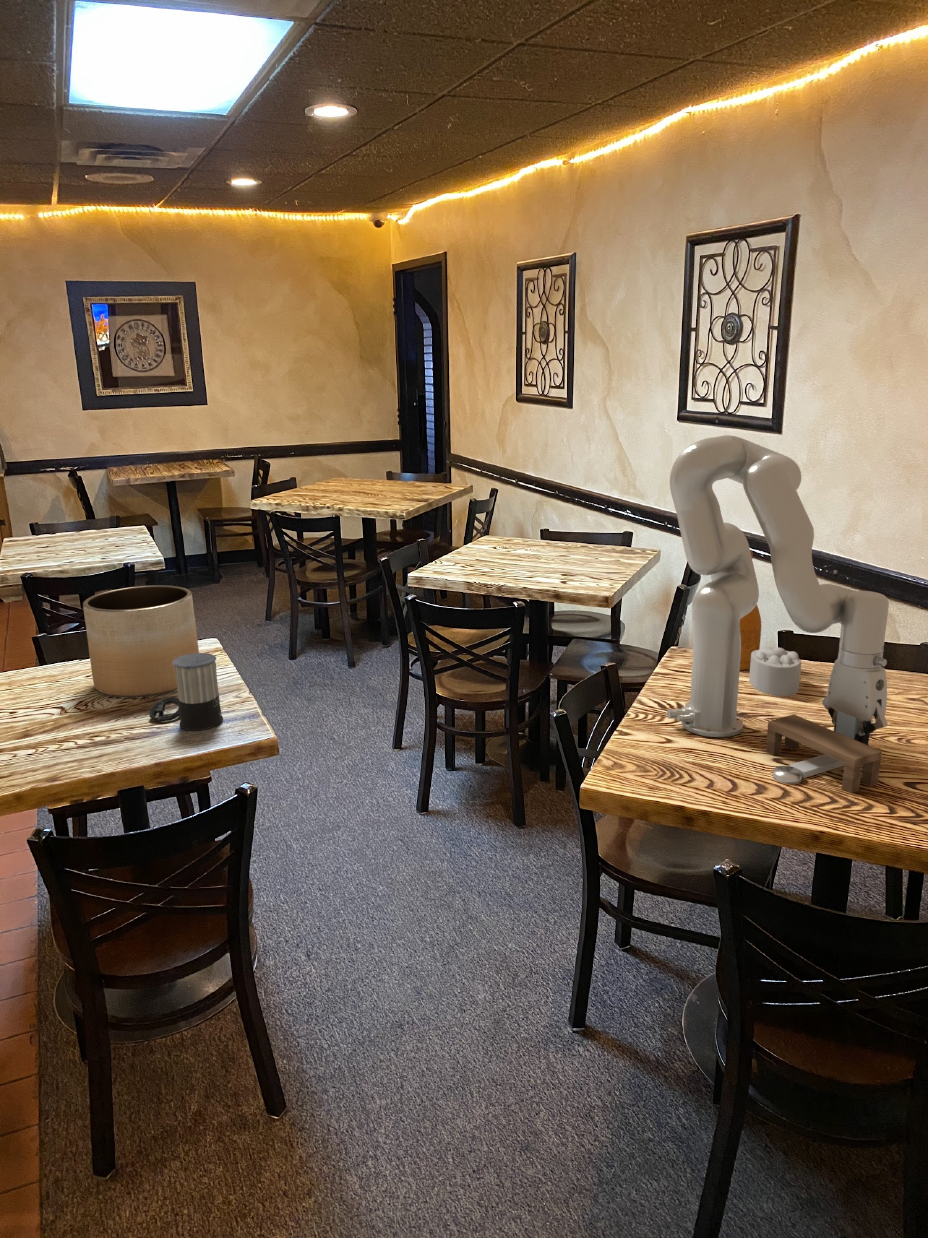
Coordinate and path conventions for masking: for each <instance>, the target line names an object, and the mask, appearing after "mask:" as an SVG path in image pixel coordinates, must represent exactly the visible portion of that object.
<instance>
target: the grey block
mask: <svg viewBox="0 0 928 1238" xmlns="http://www.w3.org/2000/svg"><path fill="white" fill-rule="evenodd" d="M865 727H866V722H865ZM835 732H837V733H840V734H842V735H844V736H847V737H849V738H852V739H854V740H855V734H858V723H857V718H855V717H853V716H850V715H848V714H845V713H843V712H840V711H838V713H837V722H836V731H835ZM844 764H845V763H843V762H841V761H839V760H836V759H834V758H832V757H830V756H828V755H825V754H822V755H817V756H814V757H811V758H808V759H804V760H801V761H797V762H795V763H791V764H789V765H788V766H790V767H794V768H797V769H799V770H800V771H801V772H802V779H805V778H809V777H812V776H815V775H818V774H822V773H824V772H827V771H831V770H834V769H837V768H841V767H844Z"/></svg>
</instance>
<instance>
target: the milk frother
mask: <svg viewBox="0 0 928 1238" xmlns="http://www.w3.org/2000/svg"><path fill="white" fill-rule="evenodd" d="M216 660H217V656H216V655H214V654H213V653H208V652H199V653H194V654H188V655H184V656H180V657H178V658H176V659H174V661H173V665H174V667H175V675H176V683H177V690H176V691H177V696H178V697H176V696H168V697H165V698H164V697H163V699H160V700H159V701H157V702H155V703H154V704H152V706H151V707H150V709H149V711H148V715H149V718H150V719H151V720H153V721H156V722H169V721H170V722H171V721H172V720H175V719H177V718H178V717H180V719H179V720H180V722H179V726H180V728H182V729H184V730H188V731H203V730H204V731H205V730H208V728H209V729H211V728H215V727H217V726H219V725H220V724H221V723H222V722H223V721H224V717H223V716H222V709H221V702H220V694H219V682H218V674H217V663H216ZM169 704H174V705H177V706H178V709H177V710H176V711H175V712H173V713H171V714H169V715H165V714H164V713H165V711H166V706H167V705H169ZM222 720H223V721H222ZM219 723H220V724H219ZM218 724H219V725H218ZM216 725H217V726H216Z"/></svg>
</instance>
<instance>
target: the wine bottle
mask: <svg viewBox="0 0 928 1238" xmlns="http://www.w3.org/2000/svg"><path fill="white" fill-rule="evenodd" d="M750 552H751V557H752V559H754V558H753V557H754V553H753V551H752V550H751V549H750ZM761 618H762V617H761V614H760V609H759V605H758V604H757V605H756V606H755V608H754V609H753V610H752V611H751V612H750V613H748V614H747V615H746V616H744V617H742V618H741V619H740V623H739V626H740V635H741V656H740V658H741V659H740V671H748V670H749V671H750V663H751V653H752V652H753V651H755V650H759V649H761V647H760V646H761V636H762V619H761Z"/></svg>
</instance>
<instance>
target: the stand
mask: <svg viewBox="0 0 928 1238" xmlns="http://www.w3.org/2000/svg"><path fill="white" fill-rule="evenodd" d="M783 736H784V745H783V744H782V743H783ZM800 744H801V745H804V746H806V747H808V748H810V749H813V750H814V751H817V752H819V753H821V754H822V755H824V754H825V755H828V756H830V757H832V758H834V759H836V760H839V761H841V762H843V763H845V764H844V766H843V774H842V783H841V790H844V791H845V792H847V793H849V794H853V793H856V792H859V791H860V784H861V783H862V784H863V785H865V786H868V787H871V788H872V787H874V786H877V785H879V778H880V770H881V762H882V756H883V751H882V750H880V749H878V748H874V747H873V746H871V745H869V744H868V745H866V744H863V743H861V742H859V741H856V740H854V739H852V738H849V737H847V736H844V735H842V734H840V733H837V732H835V731H834V729H833V730H832V729H830V728H827V727H825V726H823V725H820V724H818V723H816V722H813V721H811V720H809V719H806V718H803V717H802V716H800V715H796V714H794V713H793V714H791V715H787V716H783V717H779V718H775V719H771V720H768V721H767V732H766V745H765V752H766V753H768V754H769V755H771V756H777V755H780V754H782V745H783V747H784V748H786V749H789V750H790V751H795V750H797V749H799V748H800Z"/></svg>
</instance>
